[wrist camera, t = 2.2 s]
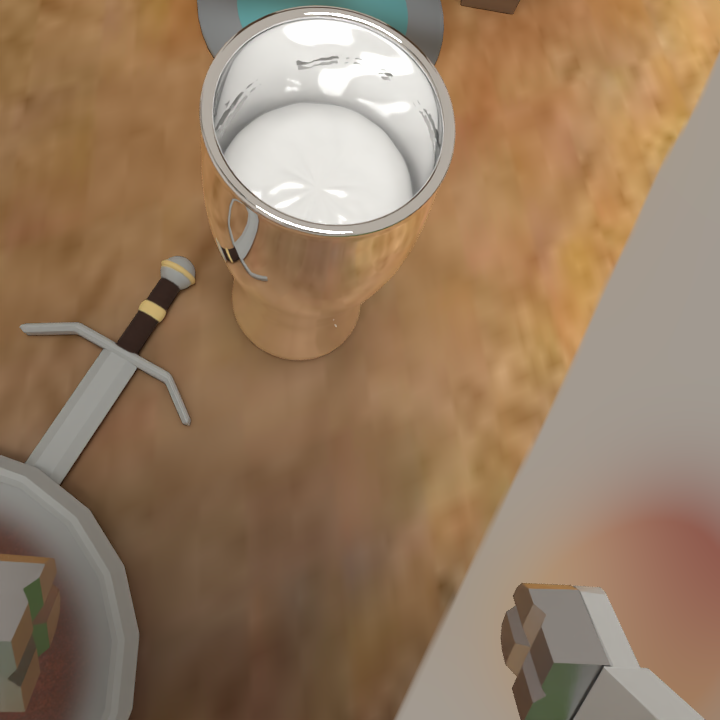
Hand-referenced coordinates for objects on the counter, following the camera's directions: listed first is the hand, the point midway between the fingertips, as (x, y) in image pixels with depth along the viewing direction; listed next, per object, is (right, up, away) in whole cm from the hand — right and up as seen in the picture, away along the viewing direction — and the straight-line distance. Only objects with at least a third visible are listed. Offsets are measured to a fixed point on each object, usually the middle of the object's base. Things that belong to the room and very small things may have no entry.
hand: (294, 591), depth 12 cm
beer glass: (-2, +7, +20) cm, 21 cm away
